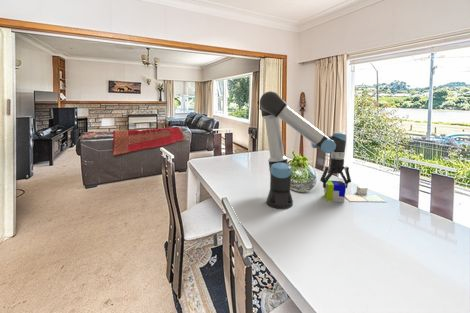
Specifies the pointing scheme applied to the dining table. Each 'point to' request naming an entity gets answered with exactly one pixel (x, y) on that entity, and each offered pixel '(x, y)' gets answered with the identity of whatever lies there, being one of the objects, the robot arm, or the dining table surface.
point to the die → (361, 190)
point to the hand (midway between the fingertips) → (334, 192)
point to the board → (364, 198)
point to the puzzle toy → (335, 191)
